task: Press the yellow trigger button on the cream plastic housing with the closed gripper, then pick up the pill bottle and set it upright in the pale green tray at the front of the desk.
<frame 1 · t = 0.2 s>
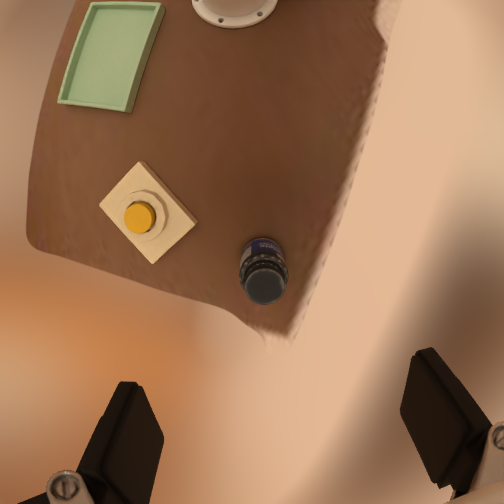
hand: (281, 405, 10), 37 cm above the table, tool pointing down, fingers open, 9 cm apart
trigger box: (149, 211, 45), on the table
pill bottle: (261, 255, 47), on the table
tray: (112, 55, 37), on the table
button: (139, 217, 41), point 4 cm above the table, slide at 0.1 cm
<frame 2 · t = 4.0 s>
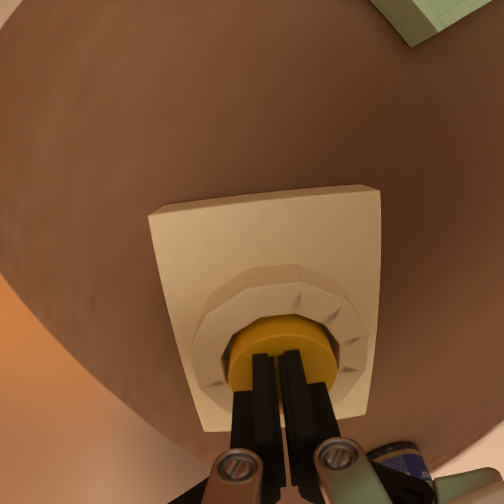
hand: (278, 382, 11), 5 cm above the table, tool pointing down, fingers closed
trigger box: (275, 315, 15), on the table
pill bottle: (383, 460, 20), on the table
button: (281, 365, 12), point 4 cm above the table, slide at -0.4 cm, touching gripper
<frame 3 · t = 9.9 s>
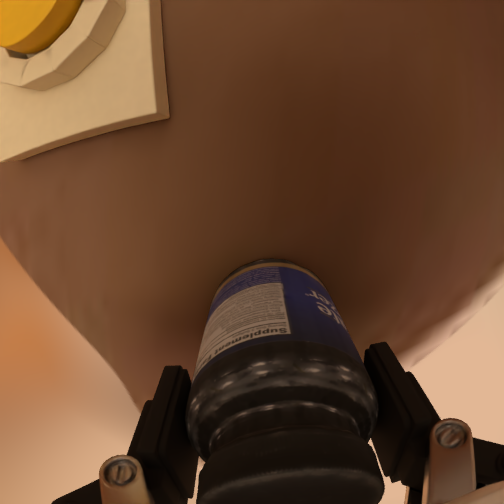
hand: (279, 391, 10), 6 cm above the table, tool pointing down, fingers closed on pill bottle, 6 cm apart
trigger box: (80, 33, 11), on the table
pill bottle: (270, 309, 16), on the table, touching gripper
button: (34, 7, 7), point 4 cm above the table, slide at 0.1 cm
when the fingers open (7 cm above the table, at t = 18.4 s): pill bottle stays where it is, resting on tray.
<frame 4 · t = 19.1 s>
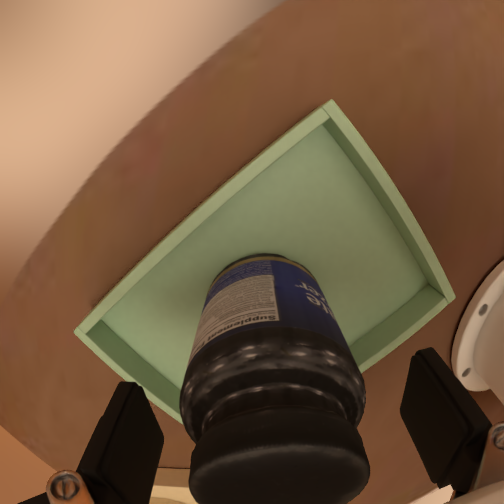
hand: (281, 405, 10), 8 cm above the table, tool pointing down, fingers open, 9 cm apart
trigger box: (171, 495, 25), on the table
pill bottle: (263, 303, 17), point 1 cm above the table, touching tray
tray: (264, 298, 17), on the table
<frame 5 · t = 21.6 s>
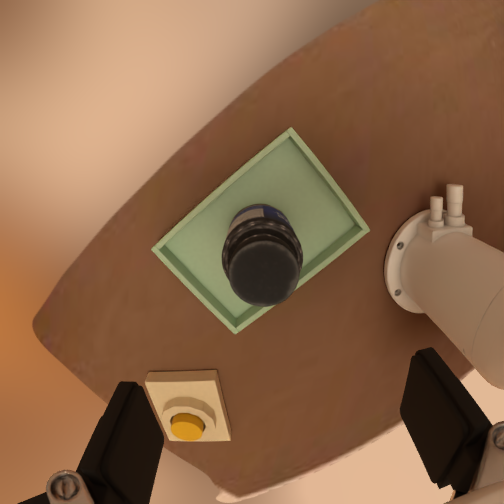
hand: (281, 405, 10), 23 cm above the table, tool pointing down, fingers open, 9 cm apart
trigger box: (191, 403, 39), on the table
pill bottle: (259, 232, 31), point 1 cm above the table, touching tray
tray: (260, 231, 32), on the table
button: (187, 427, 35), point 4 cm above the table, slide at 0.1 cm
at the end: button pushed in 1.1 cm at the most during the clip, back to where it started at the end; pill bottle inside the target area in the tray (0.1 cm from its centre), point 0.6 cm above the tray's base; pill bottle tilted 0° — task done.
